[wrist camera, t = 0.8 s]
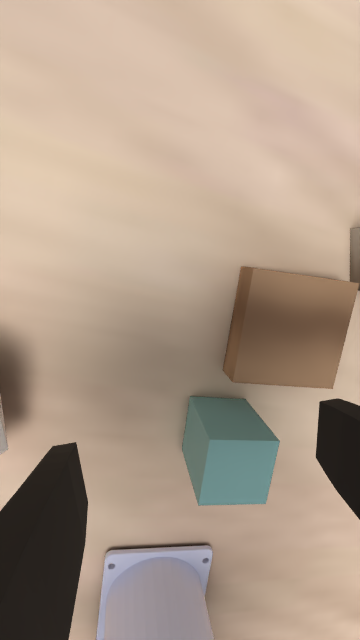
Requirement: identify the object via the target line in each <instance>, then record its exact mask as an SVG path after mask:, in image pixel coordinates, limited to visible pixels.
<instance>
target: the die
mask: <svg viewBox="0 0 360 640" xmlns="http://www.w3.org/2000/svg"><path fill="white" fill-rule="evenodd" d="M6 450H8V444H7V437H6V430H5V423H4V416H3V409H2V402H1V395H0V454H2V453H3V452H5V451H6Z"/></svg>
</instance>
